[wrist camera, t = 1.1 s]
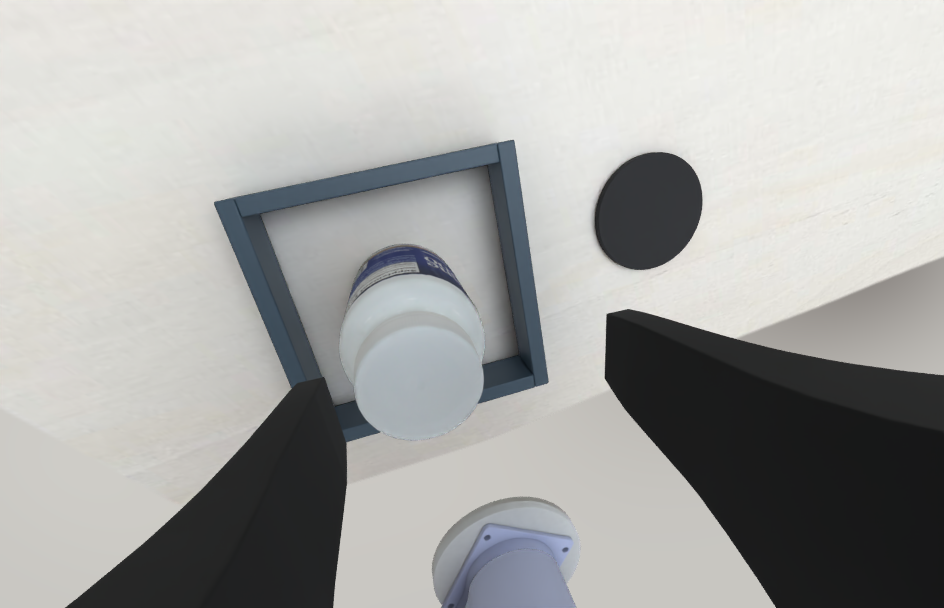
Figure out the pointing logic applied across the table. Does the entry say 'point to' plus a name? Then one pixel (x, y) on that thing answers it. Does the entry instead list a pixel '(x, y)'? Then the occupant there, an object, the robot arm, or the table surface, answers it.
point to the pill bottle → (412, 344)
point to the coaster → (648, 210)
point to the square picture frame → (499, 157)
